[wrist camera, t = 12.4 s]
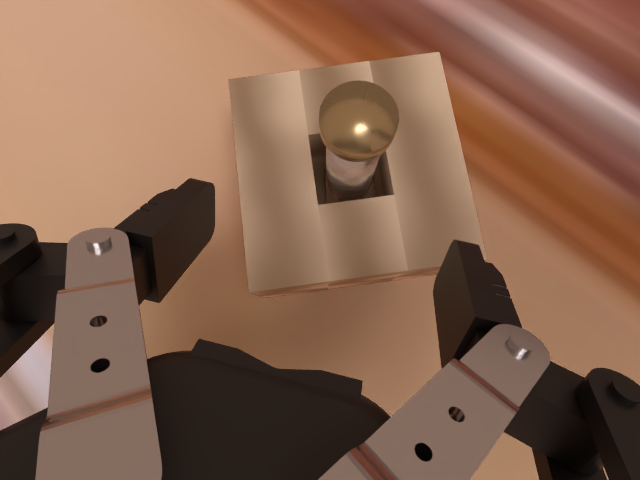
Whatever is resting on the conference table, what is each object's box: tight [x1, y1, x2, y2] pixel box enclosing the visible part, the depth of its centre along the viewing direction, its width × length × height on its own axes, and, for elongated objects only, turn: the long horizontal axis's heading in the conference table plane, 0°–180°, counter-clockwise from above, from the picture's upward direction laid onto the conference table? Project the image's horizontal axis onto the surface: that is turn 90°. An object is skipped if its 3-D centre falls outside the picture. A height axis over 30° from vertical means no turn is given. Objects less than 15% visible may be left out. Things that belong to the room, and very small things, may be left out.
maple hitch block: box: [229, 52, 487, 298], centre depth 22 cm, size 12×12×5 cm
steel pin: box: [319, 81, 399, 204], centre depth 20 cm, size 3×3×10 cm
